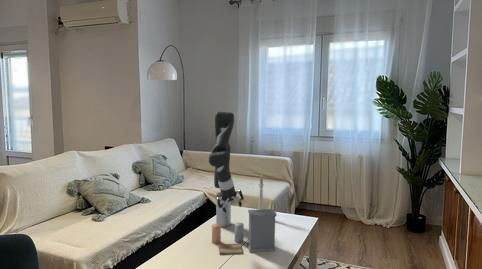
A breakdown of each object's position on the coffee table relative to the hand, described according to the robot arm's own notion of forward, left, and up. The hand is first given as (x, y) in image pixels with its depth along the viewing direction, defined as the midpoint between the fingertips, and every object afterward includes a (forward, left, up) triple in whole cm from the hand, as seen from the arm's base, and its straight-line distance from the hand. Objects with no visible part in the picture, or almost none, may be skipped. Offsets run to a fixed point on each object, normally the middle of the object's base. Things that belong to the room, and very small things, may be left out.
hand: (232, 209), depth 186 cm
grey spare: (-5, +4, -21) cm, 22 cm away
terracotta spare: (-5, -9, -21) cm, 23 cm away
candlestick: (-40, +23, -21) cm, 51 cm away
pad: (+5, -2, -21) cm, 22 cm away
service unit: (+5, +15, -21) cm, 26 cm away
